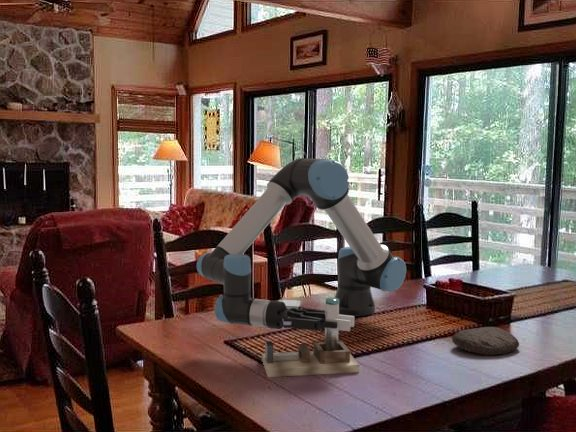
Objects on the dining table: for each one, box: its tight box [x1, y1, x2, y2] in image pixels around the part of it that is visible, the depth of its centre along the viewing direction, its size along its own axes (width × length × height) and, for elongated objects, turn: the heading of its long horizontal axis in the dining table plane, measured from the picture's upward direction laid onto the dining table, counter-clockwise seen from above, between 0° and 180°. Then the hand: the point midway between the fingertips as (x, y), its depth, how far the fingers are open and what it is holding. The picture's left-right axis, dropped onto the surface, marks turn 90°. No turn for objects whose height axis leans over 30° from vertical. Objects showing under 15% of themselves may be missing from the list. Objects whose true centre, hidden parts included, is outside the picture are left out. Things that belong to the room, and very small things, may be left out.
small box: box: [278, 299, 302, 309], centre depth 207 cm, size 8×8×5 cm
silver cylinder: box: [324, 297, 340, 351], centre depth 161 cm, size 4×4×14 cm
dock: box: [261, 341, 360, 378], centre depth 161 cm, size 24×12×5 cm, turn 100°
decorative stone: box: [451, 326, 520, 356], centre depth 177 cm, size 20×14×5 cm
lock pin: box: [264, 340, 299, 363], centre depth 160 cm, size 9×4×5 cm, turn 100°
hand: (351, 323), depth 159 cm, fingers closed on silver cylinder, 3 cm apart
